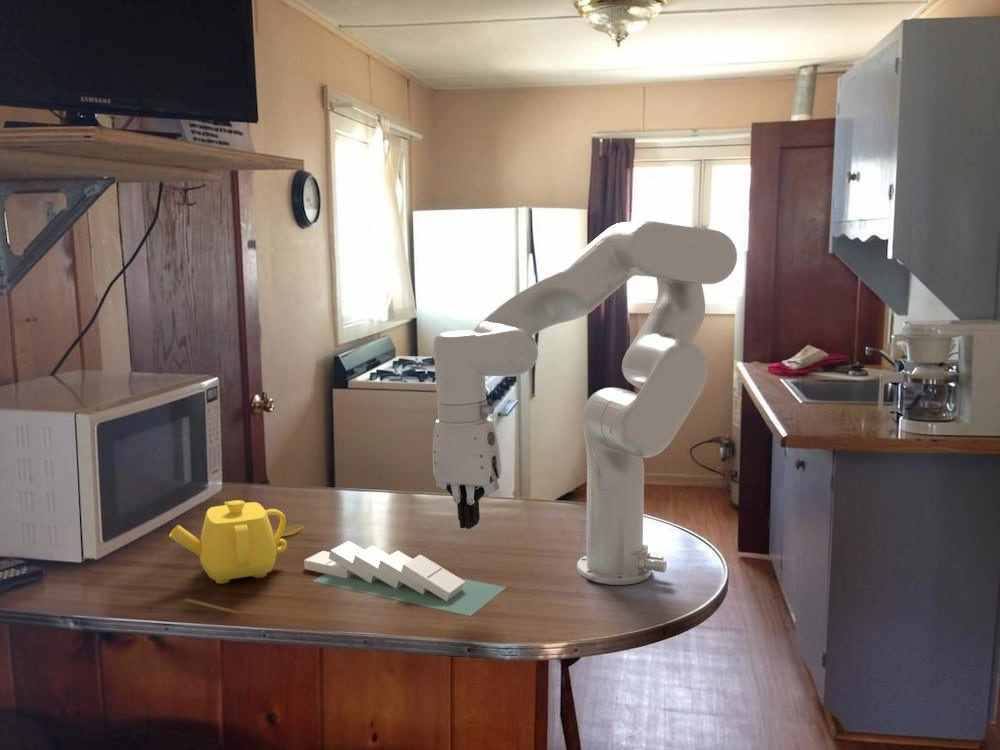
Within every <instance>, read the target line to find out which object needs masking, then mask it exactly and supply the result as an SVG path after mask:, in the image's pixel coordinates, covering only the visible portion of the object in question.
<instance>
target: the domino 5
mask: <svg viewBox="0 0 1000 750" xmlns="http://www.w3.org/2000/svg"><path fill="white" fill-rule="evenodd" d="M401 573H402V574H403V575H405V576H406V577H408V578H410V579H411V580H413V581H414V582H416V583H418V584H419V585H421V586H423V587H424V588H426V589H427V590H429V591H431V592H432V593H434V594H435V595H437V596H439V597H440V598H442V599H443V600H445V601H448V600H449V599H450V598H452V597H453V596H455V595H456V594H457V593H459V592H460V591H461V590H462V589H463V587H464V584H465V581H463V580H462V579H463V578H462V579H460V578H461V577H459V576H457V575H455V574H453V573H452V572H450V571H449V570H447V569H445V568H443V567H442V566H441V565H439V564H437V563H436V562H433V561H432V560H431V559H429V558H428V557H426V556H424V555H422V554H418V555H417V556H415V557H414V558H412V560H410V561H409V562H407V563H405V564H404V565H403V568H402V571H401Z"/></svg>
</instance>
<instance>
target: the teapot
mask: <svg viewBox="0 0 1000 750" xmlns="http://www.w3.org/2000/svg"><path fill="white" fill-rule="evenodd" d="M223 503H224V505H217V506H212V507H209V508H208V509H207V511H206V514H205V518H204V522H203V526H202V530H201V534H200V539H199V538H197V537H196V536H194V535H193V534H192V533H191V532H189V531H187V530H186V529H185V528H184V527H183V526H181V525H179V524H177V525H176V526H175V527H174V528H173V529H172V530H171V532H169V535H168V537H169V538H171V540H173V541H175V542H177V543H178V544H180V545H181V546H183V547H185V548H186V549H187V550H189V551H190V552H192V553H193V554H195V555H196V556H198V557H199V561H200V563H201V564H200V565H201V566H202V568H203V570H204V572H205V573H206V574H207V576H208V577H209V578H210V579H211V580H214V581H215V583H216V584H219V585H220V584H227V583H230V582H231V580H233V579H240V578H241V579H242V578H248V577H252V578H256V579H259V578H260V579H261V578H264V577H267V576H268V573H271V572H272V570H273V569H274V566H275V565H276V564H275V563H276V561H277V560H276V559H277V553H283V552H284V551H285V550H286V549H287V548H288V547H287V544H288V543H287V541H286V539H284V538H281V537H282V535H283V533H284V531H285V528H286V524H287V523H286V522H287V520H286V516H285V514H284V513H283V511H280V510H279V509H275V508H270V509H265V508H264V507H263V506H262V504H260V503H258V502H255V501H252V502H245V501H244V500H238V499H237V500H230V501H224V502H223ZM273 515H274V516H278V517H279V525H278V528H277V531H276V533H275V532H274V529H273V527H272V524H271V521H270V518H269V516H273ZM279 544H282V545H280V546H278V545H279Z"/></svg>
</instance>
